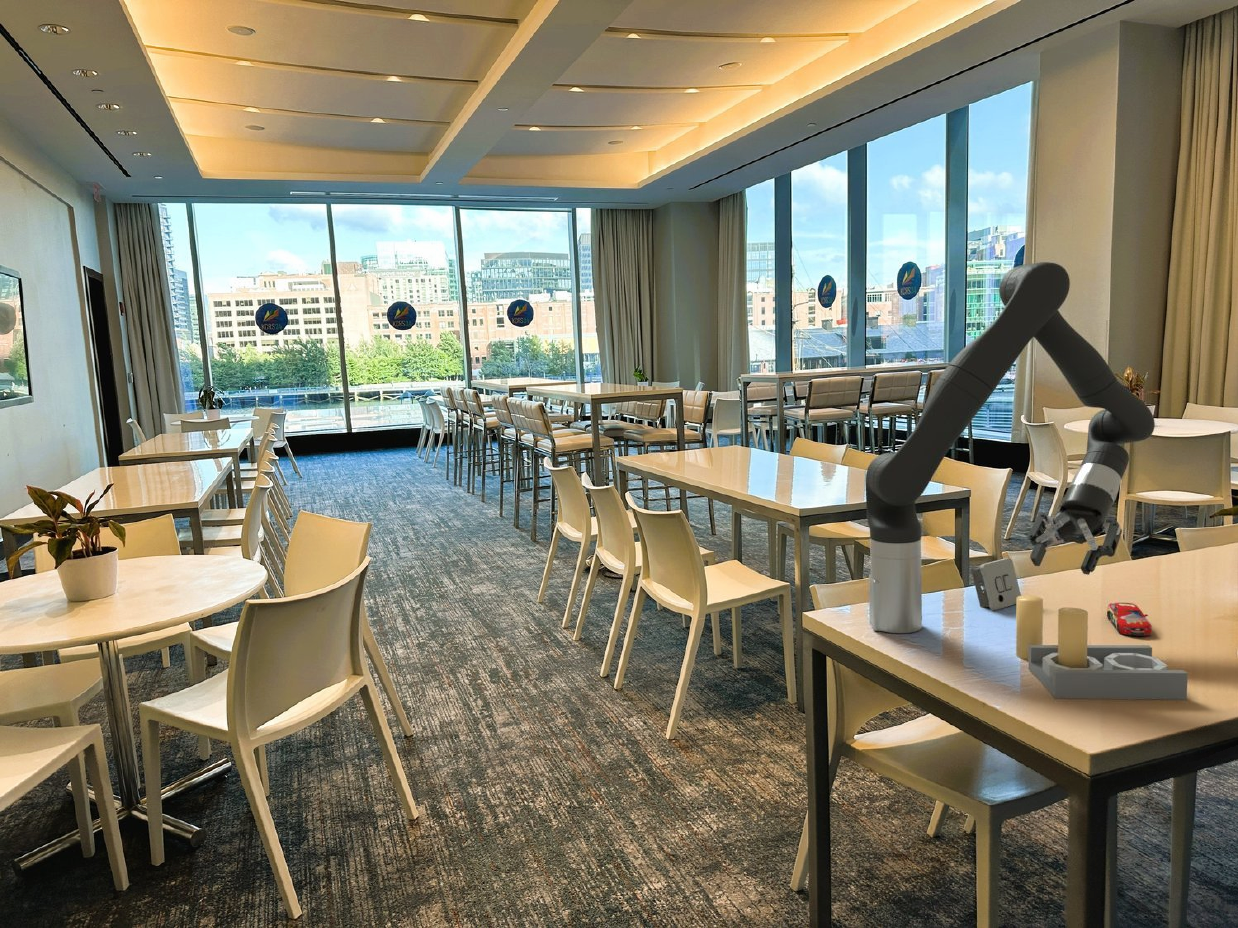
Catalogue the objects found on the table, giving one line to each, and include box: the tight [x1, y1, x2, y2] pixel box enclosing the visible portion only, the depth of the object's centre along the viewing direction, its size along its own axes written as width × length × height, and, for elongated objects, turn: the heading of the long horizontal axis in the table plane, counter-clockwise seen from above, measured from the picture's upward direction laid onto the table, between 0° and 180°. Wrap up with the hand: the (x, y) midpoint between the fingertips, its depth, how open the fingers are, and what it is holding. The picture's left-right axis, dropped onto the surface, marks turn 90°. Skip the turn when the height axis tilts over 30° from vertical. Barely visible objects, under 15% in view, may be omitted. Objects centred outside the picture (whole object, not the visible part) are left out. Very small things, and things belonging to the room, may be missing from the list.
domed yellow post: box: [1015, 595, 1044, 661], centre depth 142 cm, size 4×4×10 cm
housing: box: [1027, 606, 1189, 701], centre depth 129 cm, size 18×12×12 cm, turn 82°
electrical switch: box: [971, 557, 1022, 611], centre depth 171 cm, size 9×5×9 cm, turn 121°
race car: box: [1106, 602, 1153, 637], centre depth 154 cm, size 13×5×4 cm, turn 160°
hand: (1059, 567), depth 147 cm, fingers open, 8 cm apart
